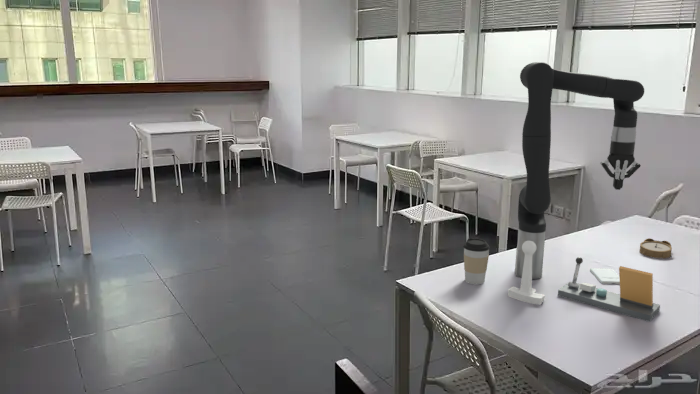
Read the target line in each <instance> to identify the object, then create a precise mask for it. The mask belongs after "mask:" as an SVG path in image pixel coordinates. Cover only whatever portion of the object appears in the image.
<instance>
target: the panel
mask: <svg viewBox="0 0 700 394" xmlns="http://www.w3.org/2000/svg"><path fill="white" fill-rule="evenodd" d="M569 282H572V281H571V280H570V281H569ZM569 282H567V283H566V284H565V285H563V286H562V287H560V288H559V289H558V290H557V296H558V297H562V298H565V299H569V300H572V301H576V302H579V303H583V304H587V305H590V306H593V307H598V308H601V309H604V310H607V311H612V312H614V313H617V314H622V315H625V316H628V317H629V316H630V317H632V318H635V319H636V318H637V319H639V320H643V321H646V322H651V321H652V320H653V319H654V317H656V315H657V314H658V313H659V312H660V309H661V304H658V303H656V302H655V303H654V302H653V309H650V308H646V307H643V306H639V305H635V304H632V303H628V302H624V301H620V293H617V292H613V291H609V290H607V294H606V296H605V297H601V296H598V295H596V291H597V289H598V288H597V287H596V289H595V291H592V292H588V291H585V290H581V289H579V288H580V284H581V283H578V282H576V284H579V288H578V289H576V288H572V287H568V283H569Z"/></svg>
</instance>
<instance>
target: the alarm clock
mask: <svg viewBox="0 0 700 394" xmlns="http://www.w3.org/2000/svg"><path fill="white" fill-rule="evenodd" d="M672 249H673V248H672V245H671V242H669V241H667V240H662V241H661V240H655V239H653V238H650V237H649V238H645V239H644V240H643V241H641V242H640V243H639V254H641V255H643V256H645V255H646V257H648V258H649V257H650V258H653V257H654V258H656V259H668V258H670V257H671V256H672Z"/></svg>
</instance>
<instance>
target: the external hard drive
mask: <svg viewBox="0 0 700 394" xmlns="http://www.w3.org/2000/svg"><path fill="white" fill-rule="evenodd" d="M589 271H590V273H592V275H593V276H594V277H595V278H596V279H597V281H599V283H601V284H602V285H620V277H619V273H617V271H615V270H614V269H613V268H599V267H598V268H597V267H593V268H592V267H591V268H590V269H589Z"/></svg>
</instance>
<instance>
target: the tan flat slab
mask: <svg viewBox="0 0 700 394" xmlns="http://www.w3.org/2000/svg"><path fill="white" fill-rule="evenodd" d="M618 272H619V273H618V275H619V277H620V284H619V292H620V293H619V294H620V301H624V302H628V303H632V304H635V305H639V306H643V307H646V308H650V309H653V303H654V301H653V300H654V298H653V297H654V293H653V292H654V287H653V284H654V282H653V280H654V279H653V278H654V277H653V275H654V274H653V273H652V272H648V271H647V272H646V271H643V270H639V269H635V268H631V267H630V268H629V267H626V266H621V265H620V266H619V267H618Z"/></svg>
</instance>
